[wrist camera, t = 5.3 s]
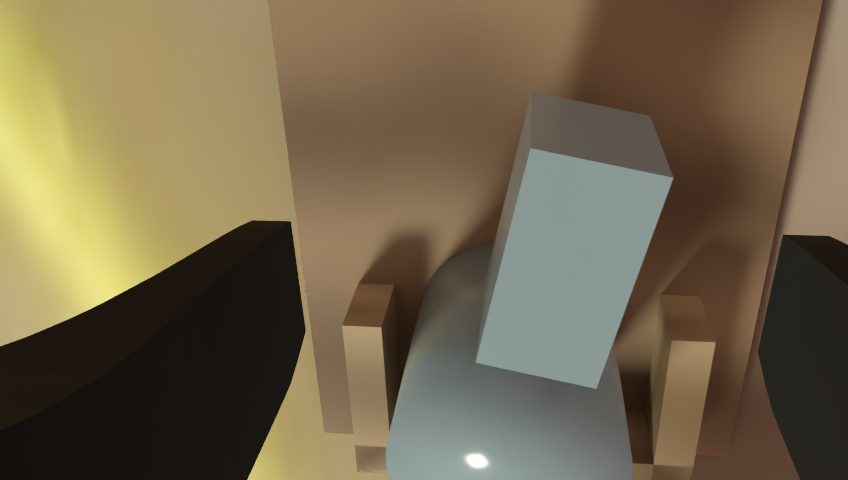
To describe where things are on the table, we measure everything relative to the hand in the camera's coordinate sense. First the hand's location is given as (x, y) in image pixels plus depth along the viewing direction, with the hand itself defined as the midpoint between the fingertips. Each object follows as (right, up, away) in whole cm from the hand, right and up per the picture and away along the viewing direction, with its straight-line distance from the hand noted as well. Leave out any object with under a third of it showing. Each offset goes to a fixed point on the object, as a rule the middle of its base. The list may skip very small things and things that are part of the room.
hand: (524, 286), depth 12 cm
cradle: (+1, +3, +8) cm, 8 cm away
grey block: (+1, 0, +8) cm, 8 cm away
